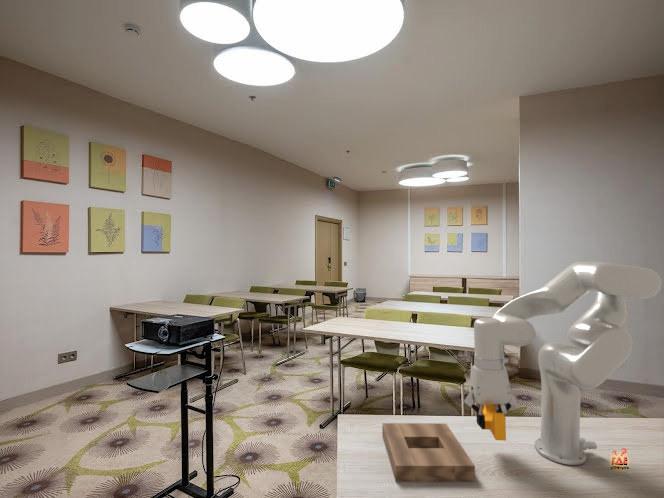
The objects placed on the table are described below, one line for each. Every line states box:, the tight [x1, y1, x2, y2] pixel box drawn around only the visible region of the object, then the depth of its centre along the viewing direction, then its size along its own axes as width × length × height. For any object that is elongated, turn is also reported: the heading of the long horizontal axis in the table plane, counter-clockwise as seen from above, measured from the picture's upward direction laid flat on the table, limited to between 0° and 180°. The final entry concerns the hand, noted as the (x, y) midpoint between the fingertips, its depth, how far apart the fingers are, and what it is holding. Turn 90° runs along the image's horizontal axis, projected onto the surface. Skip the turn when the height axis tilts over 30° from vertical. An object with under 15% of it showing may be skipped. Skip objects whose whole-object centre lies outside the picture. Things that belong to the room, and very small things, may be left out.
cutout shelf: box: [381, 422, 476, 483], centre depth 103 cm, size 20×22×4 cm
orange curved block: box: [483, 404, 507, 441], centre depth 103 cm, size 12×4×6 cm, turn 171°
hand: (491, 426), depth 103 cm, fingers closed on orange curved block, 4 cm apart
